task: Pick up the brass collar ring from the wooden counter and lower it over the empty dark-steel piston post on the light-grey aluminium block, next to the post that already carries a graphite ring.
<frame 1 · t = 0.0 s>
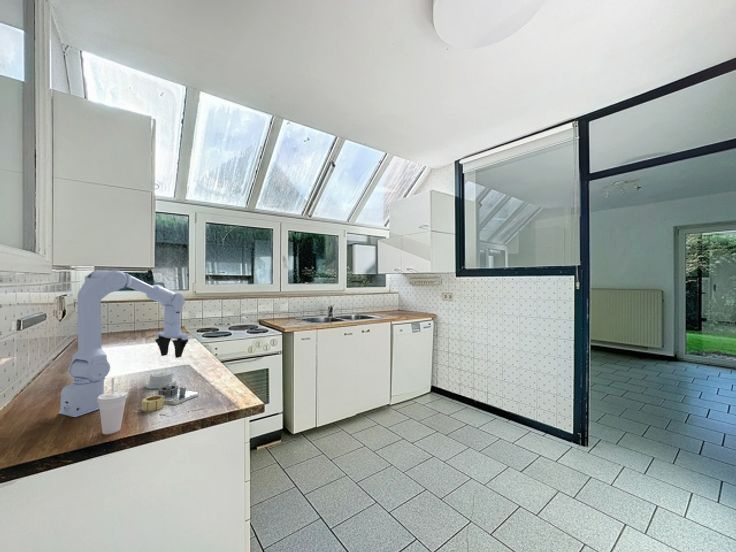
hand: (171, 356, 122), 10 cm above the countertop, fingers open, 7 cm apart
brass ring: (153, 407, 97), on the countertop
smoothie: (111, 431, 82), on the countertop
mechanical component: (161, 385, 118), on the countertop
piston block: (175, 397, 105), on the countertop
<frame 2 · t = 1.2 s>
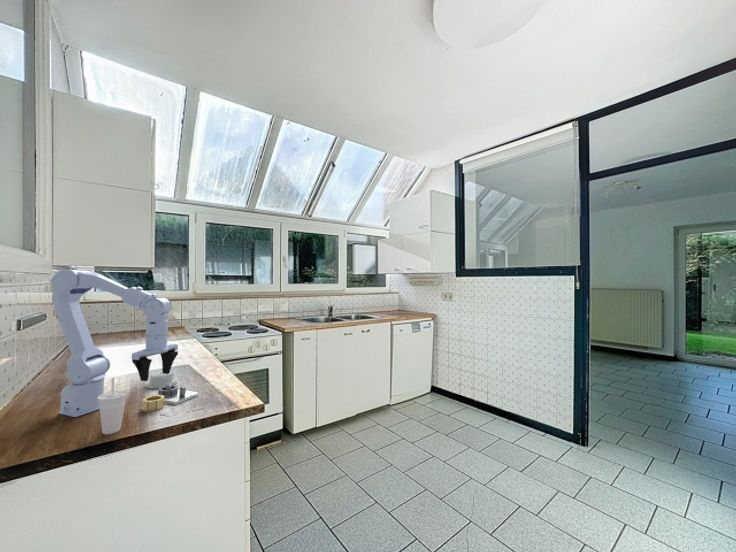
hand: (155, 376, 98), 9 cm above the countertop, fingers open, 7 cm apart
nothing on the countertop moved.
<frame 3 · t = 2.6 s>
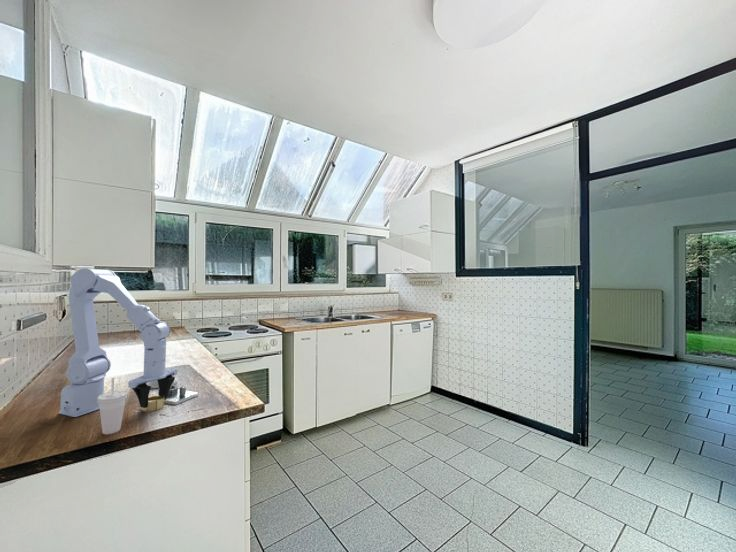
hand: (153, 403, 97), 1 cm above the countertop, fingers closed on brass ring, 6 cm apart
brass ring: (153, 407, 97), on the countertop, touching gripper
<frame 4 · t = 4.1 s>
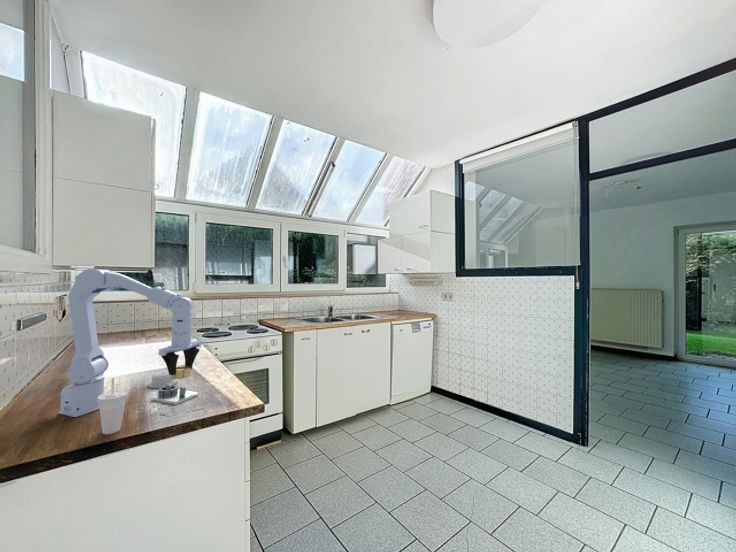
hand: (180, 372, 104), 10 cm above the countertop, fingers closed on brass ring, 6 cm apart
brass ring: (180, 376, 104), point 8 cm above the countertop, touching gripper
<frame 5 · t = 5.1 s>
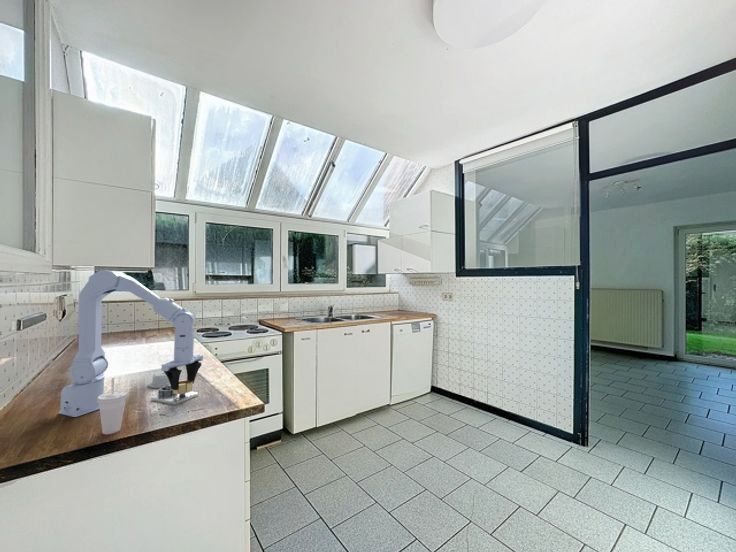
hand: (182, 386, 104), 4 cm above the countertop, fingers closed on brass ring, 6 cm apart
brass ring: (182, 391, 104), point 3 cm above the countertop, touching gripper
when the fingers open (4 cm above the countertop, at t = 5.8 s): brass ring drops 1 cm, resting on piston block.
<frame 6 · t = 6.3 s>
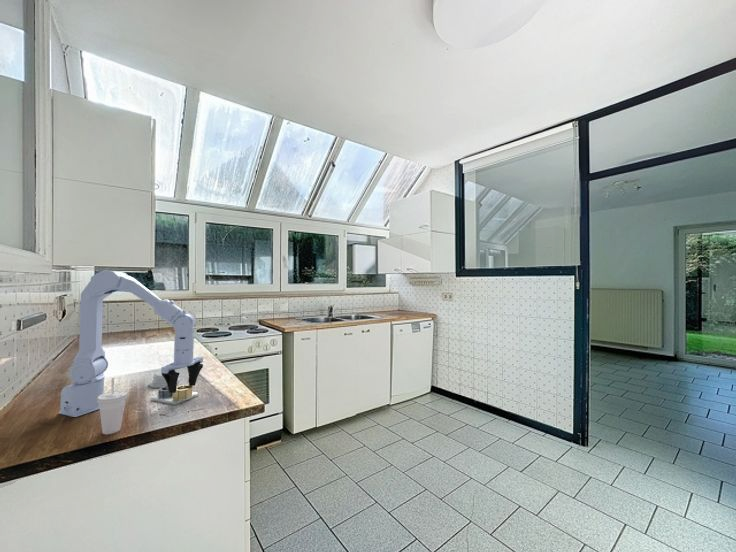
hand: (182, 388, 104), 4 cm above the countertop, fingers open, 7 cm apart
brass ring: (182, 396, 104), point 1 cm above the countertop, touching piston block
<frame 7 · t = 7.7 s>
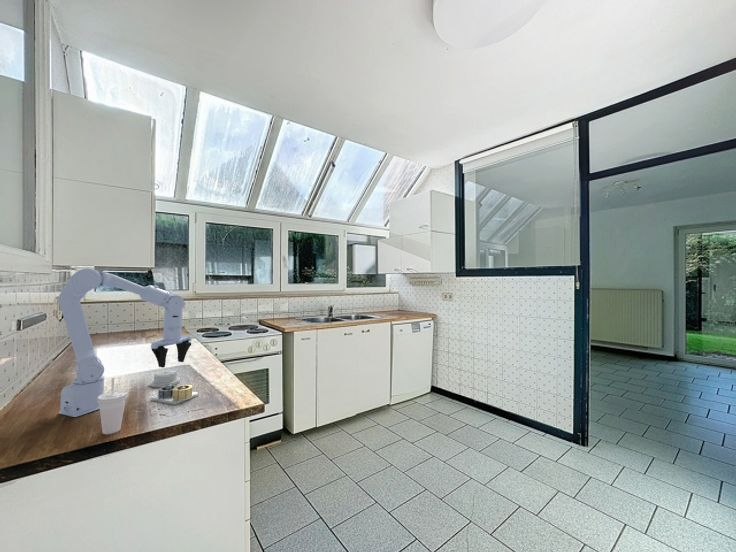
hand: (171, 364, 111), 10 cm above the countertop, fingers open, 7 cm apart
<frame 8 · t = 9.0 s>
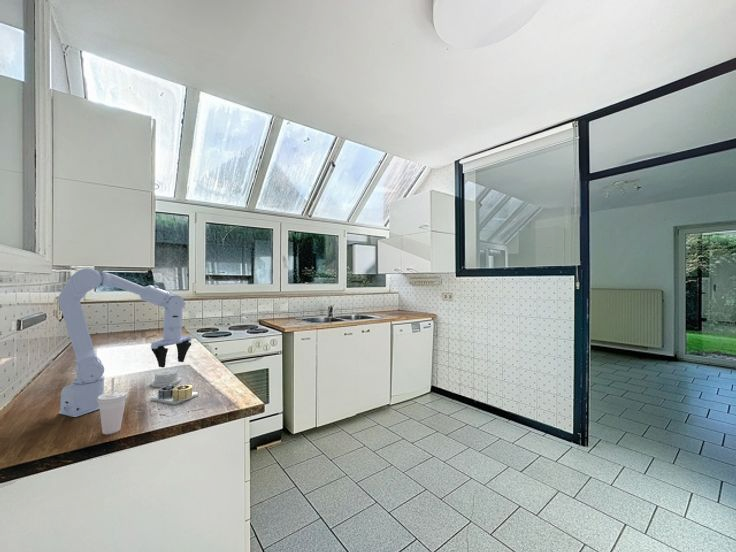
hand: (171, 364, 111), 10 cm above the countertop, fingers open, 7 cm apart
at the end: brass ring 0.1 cm from the target spot on the piston block, point 1.0 cm above the piston block's base; brass ring tilted 0°; the gripper is holding nothing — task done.
